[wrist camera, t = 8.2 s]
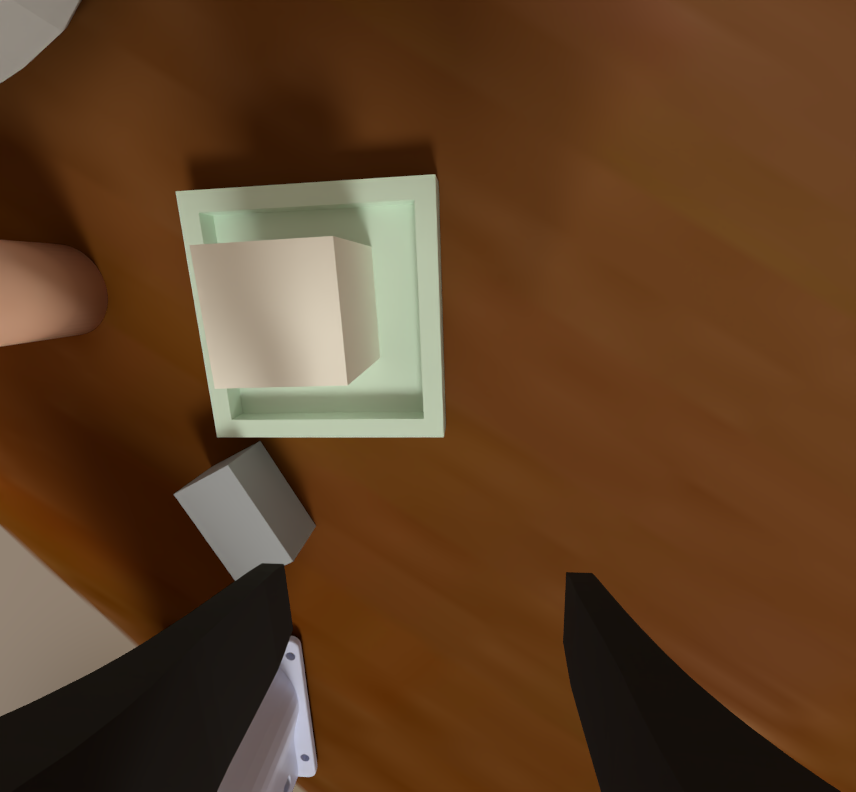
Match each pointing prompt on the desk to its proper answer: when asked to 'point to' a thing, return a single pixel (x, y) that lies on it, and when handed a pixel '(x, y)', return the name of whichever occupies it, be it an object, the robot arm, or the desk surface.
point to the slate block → (247, 511)
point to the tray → (394, 290)
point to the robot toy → (30, 30)
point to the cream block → (287, 311)
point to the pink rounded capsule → (48, 292)
